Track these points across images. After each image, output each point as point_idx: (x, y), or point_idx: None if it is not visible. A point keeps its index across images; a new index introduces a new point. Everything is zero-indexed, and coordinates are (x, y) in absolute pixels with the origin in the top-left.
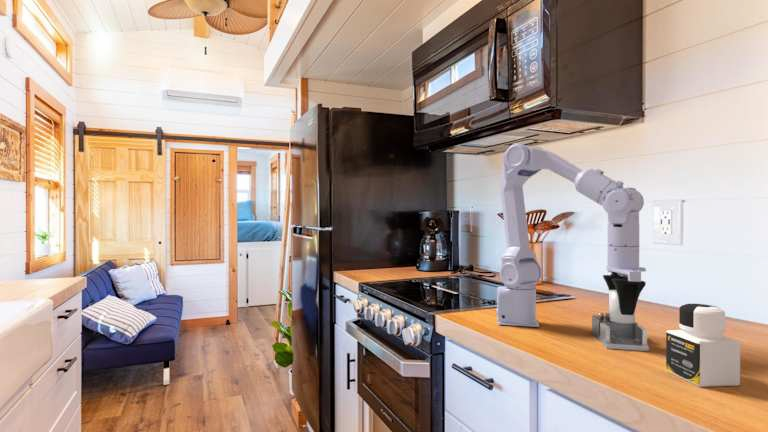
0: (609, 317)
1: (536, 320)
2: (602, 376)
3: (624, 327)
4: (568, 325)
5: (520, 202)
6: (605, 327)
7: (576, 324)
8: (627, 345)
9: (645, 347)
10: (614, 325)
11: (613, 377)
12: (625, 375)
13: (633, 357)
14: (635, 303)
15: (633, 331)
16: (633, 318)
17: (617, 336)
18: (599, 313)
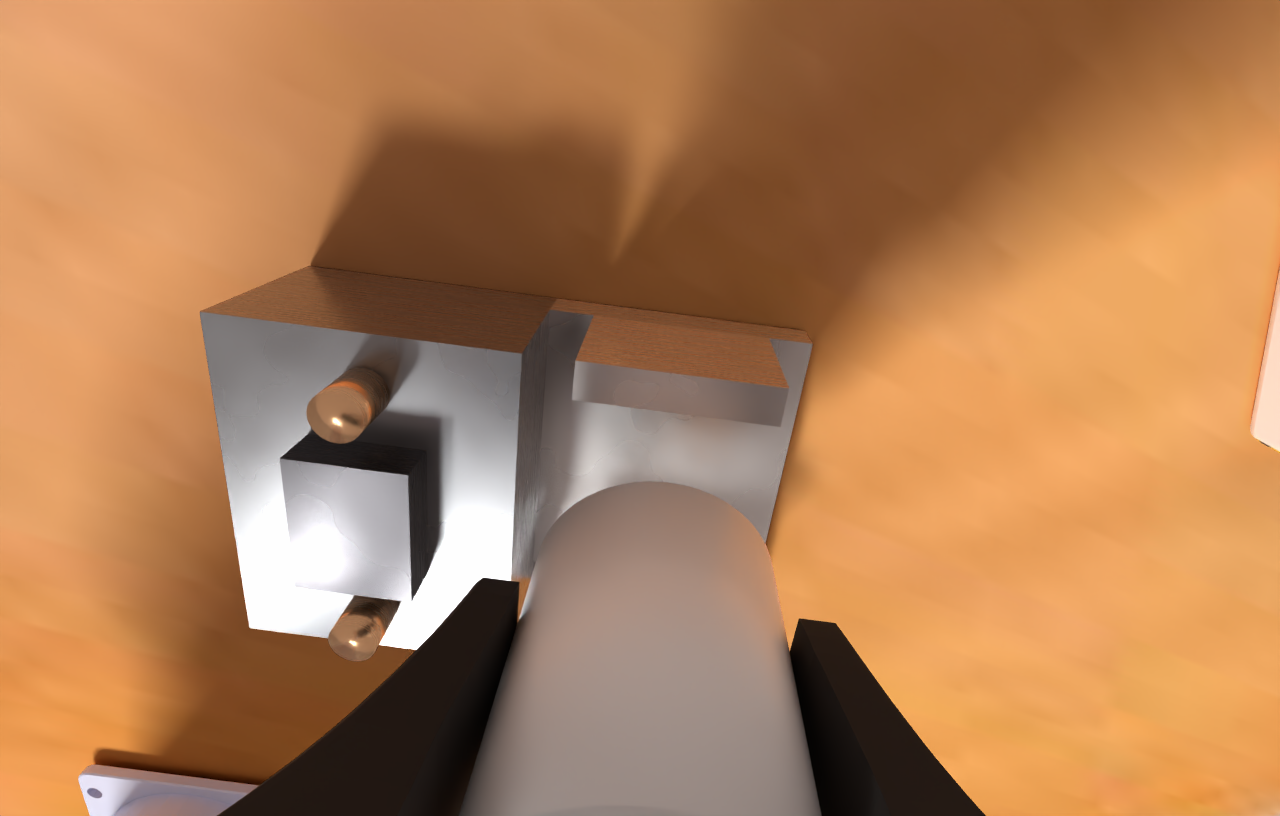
0: (417, 580)
1: (165, 786)
2: (1230, 771)
3: (524, 452)
4: (156, 610)
5: None
6: None
7: (93, 548)
8: (778, 486)
9: (803, 364)
10: (519, 536)
11: (1258, 735)
12: (1247, 675)
13: (941, 501)
14: (916, 745)
15: (536, 365)
16: (757, 556)
17: (539, 462)
18: (366, 659)
